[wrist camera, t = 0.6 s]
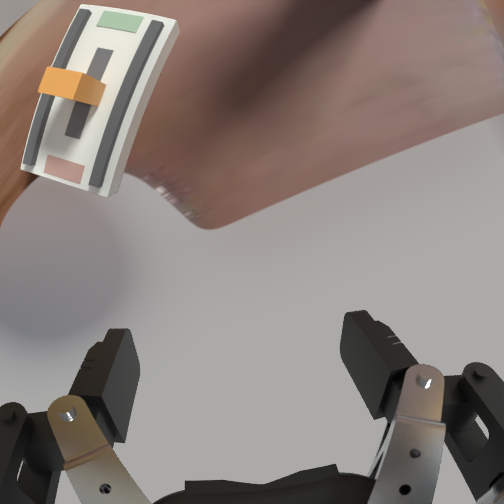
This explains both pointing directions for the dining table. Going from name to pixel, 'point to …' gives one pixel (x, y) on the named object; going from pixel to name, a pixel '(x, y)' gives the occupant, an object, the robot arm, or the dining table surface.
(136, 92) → the breaker panel
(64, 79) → the block
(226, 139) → the dining table surface
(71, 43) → the pair of grey rails
